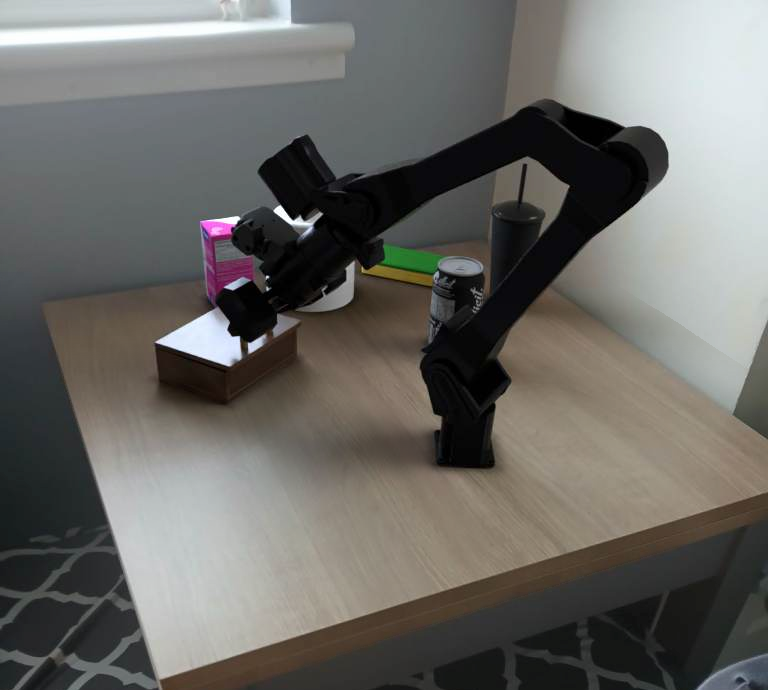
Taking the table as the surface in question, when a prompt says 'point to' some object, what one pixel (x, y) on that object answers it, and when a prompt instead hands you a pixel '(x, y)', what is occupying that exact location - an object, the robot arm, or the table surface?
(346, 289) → the honey pot
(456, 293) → the beverage can
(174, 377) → the tea box
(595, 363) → the table surface
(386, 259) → the dish sponge
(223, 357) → the lid
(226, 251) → the supplement box
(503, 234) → the drinking cup
